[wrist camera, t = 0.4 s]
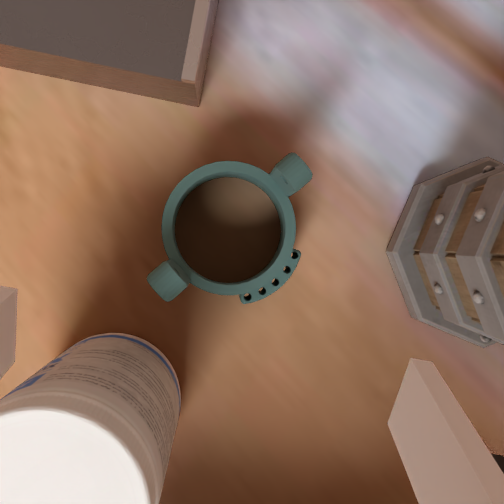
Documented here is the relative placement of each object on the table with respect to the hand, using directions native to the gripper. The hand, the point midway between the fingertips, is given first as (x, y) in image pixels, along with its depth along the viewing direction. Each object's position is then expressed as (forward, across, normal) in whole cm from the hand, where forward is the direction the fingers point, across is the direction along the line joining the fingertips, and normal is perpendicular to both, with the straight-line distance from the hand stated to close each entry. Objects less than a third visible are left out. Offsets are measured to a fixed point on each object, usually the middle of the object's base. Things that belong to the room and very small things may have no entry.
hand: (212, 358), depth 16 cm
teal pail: (+20, 0, +2) cm, 20 cm away
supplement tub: (+15, +6, +14) cm, 22 cm away
